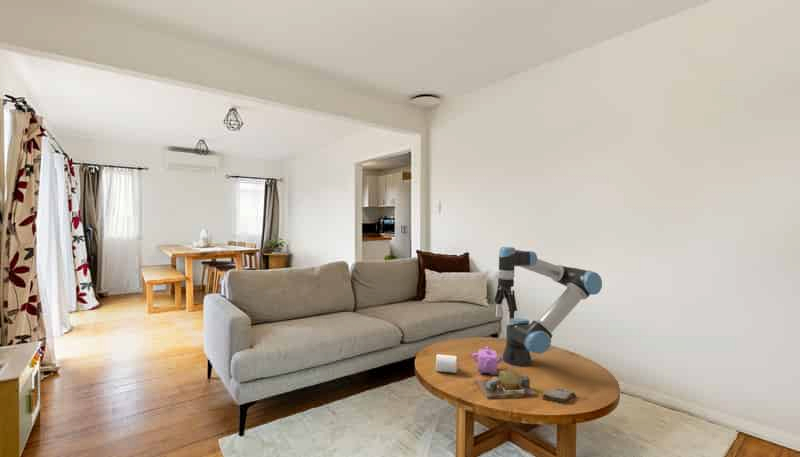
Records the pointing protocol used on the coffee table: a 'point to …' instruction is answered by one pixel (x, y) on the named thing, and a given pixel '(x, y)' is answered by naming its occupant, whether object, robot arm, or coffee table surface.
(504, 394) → the framed base plate
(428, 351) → the coffee table surface
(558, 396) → the stone
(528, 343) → the robot arm
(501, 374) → the gold cube
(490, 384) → the shafts
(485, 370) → the teapot
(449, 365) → the mug
